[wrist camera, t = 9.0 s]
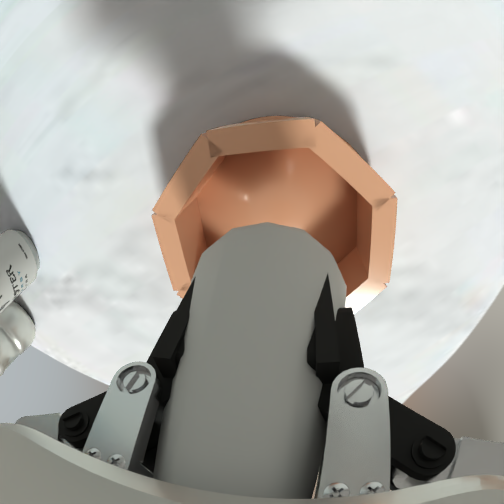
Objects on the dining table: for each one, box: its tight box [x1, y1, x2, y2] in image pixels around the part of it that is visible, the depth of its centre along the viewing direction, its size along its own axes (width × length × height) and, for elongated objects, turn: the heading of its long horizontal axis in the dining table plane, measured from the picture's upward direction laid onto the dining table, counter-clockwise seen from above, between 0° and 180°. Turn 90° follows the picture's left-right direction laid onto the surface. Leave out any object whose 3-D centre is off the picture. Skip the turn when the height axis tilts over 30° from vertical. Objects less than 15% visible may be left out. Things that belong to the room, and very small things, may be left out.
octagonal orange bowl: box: [152, 116, 397, 313], centre depth 15 cm, size 12×12×4 cm
